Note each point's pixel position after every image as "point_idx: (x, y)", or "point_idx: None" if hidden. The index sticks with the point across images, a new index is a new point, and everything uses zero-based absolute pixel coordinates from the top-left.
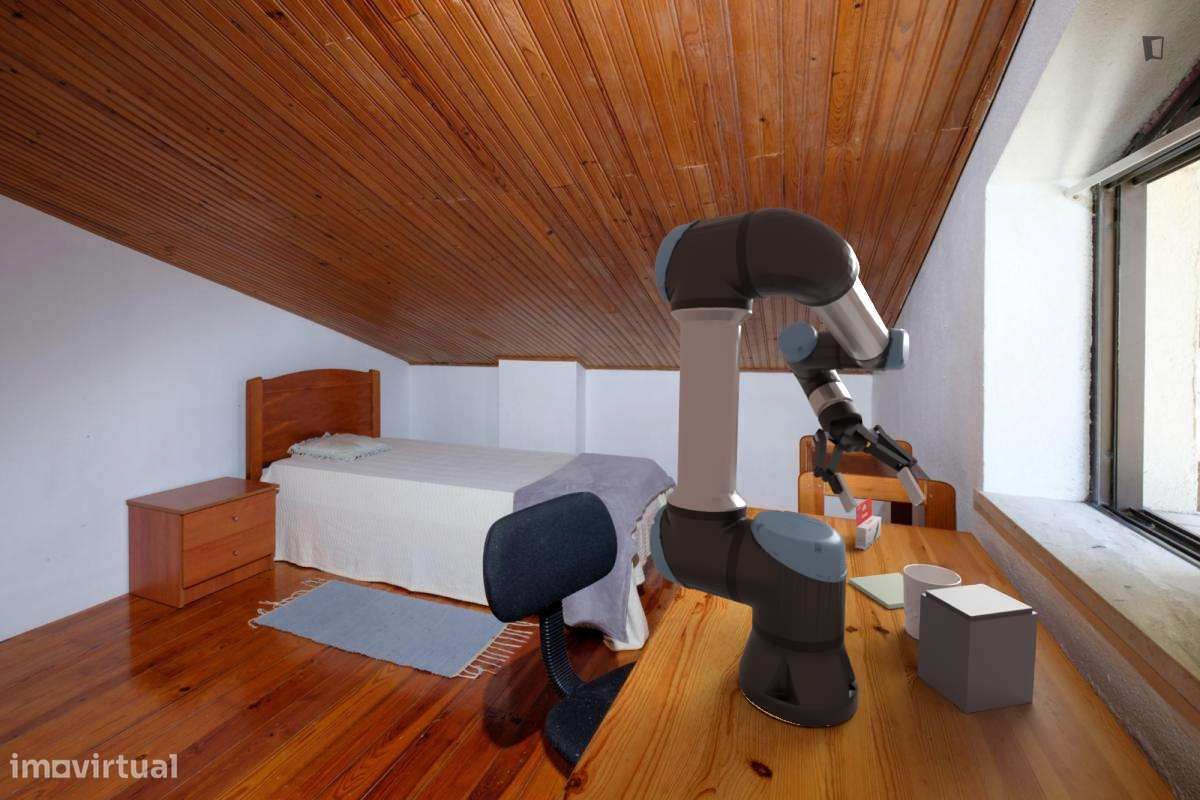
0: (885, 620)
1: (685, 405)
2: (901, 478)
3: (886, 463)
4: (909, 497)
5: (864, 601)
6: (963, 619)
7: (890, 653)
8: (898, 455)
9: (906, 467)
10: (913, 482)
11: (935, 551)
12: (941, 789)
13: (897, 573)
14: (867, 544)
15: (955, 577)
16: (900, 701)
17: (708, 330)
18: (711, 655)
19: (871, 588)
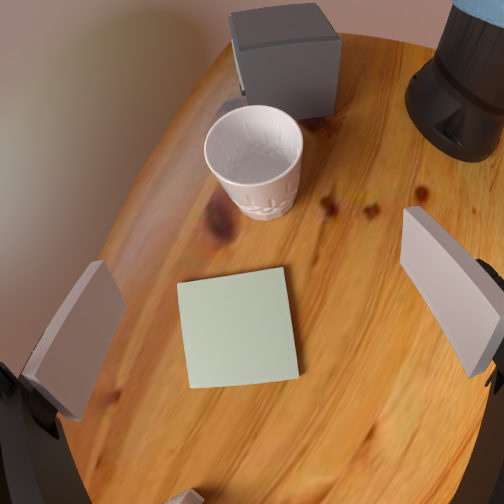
0: (308, 232)
1: None
2: (79, 382)
3: (78, 480)
4: (115, 327)
5: (309, 299)
6: (320, 9)
7: (343, 153)
8: (2, 467)
9: (26, 373)
10: (69, 309)
11: (88, 446)
12: (371, 36)
13: (193, 385)
14: (182, 495)
15: (210, 145)
16: (367, 89)
17: None
18: None
19: (279, 331)
